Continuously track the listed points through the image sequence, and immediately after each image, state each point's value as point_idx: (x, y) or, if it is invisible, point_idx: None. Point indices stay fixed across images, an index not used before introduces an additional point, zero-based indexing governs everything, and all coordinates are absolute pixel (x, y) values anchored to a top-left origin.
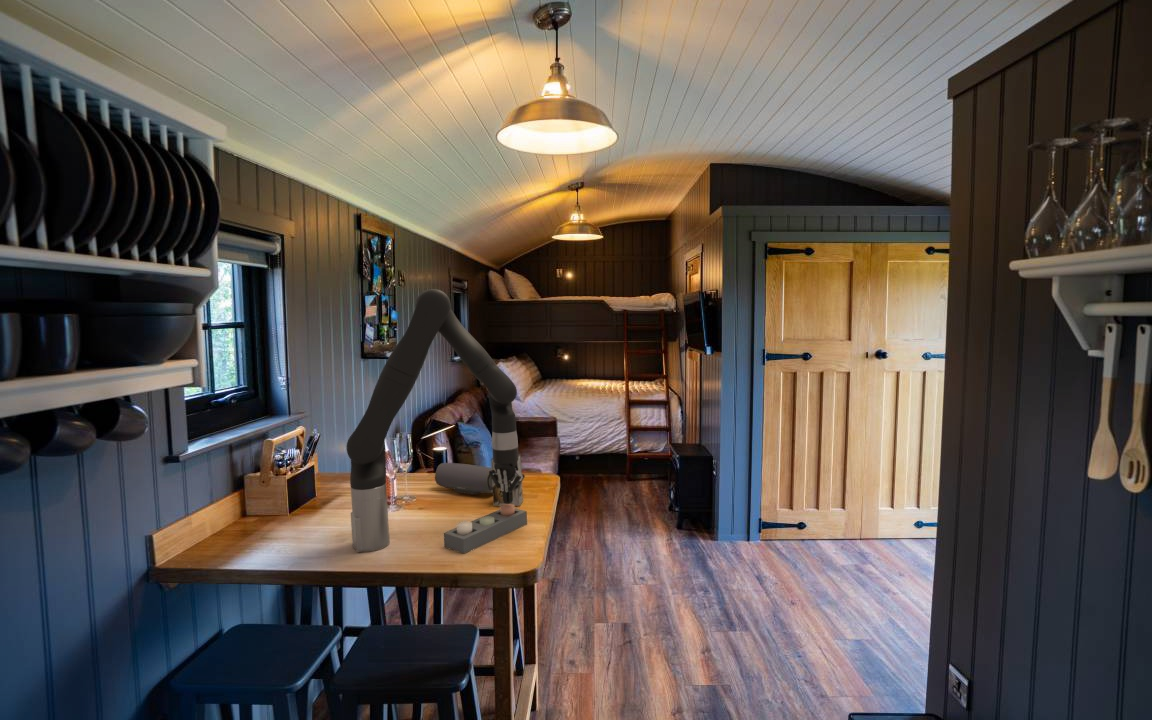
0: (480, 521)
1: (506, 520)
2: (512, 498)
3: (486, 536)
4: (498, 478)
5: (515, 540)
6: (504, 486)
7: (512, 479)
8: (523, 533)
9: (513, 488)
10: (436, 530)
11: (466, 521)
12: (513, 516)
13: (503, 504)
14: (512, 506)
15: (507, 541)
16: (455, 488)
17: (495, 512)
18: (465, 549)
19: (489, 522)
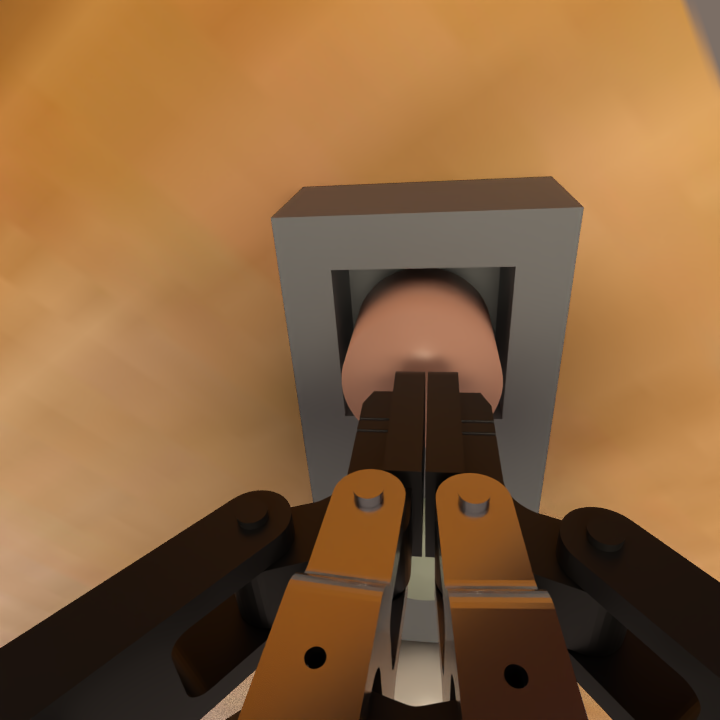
0: (408, 593)
1: (543, 471)
2: (492, 422)
3: None
4: (168, 684)
5: (657, 451)
6: (399, 617)
7: (524, 678)
8: (643, 342)
9: (653, 660)
10: (135, 543)
11: (398, 699)
12: (544, 390)
13: (342, 370)
14: (480, 366)
15: (612, 482)
16: None
17: (322, 400)
18: None
19: None
